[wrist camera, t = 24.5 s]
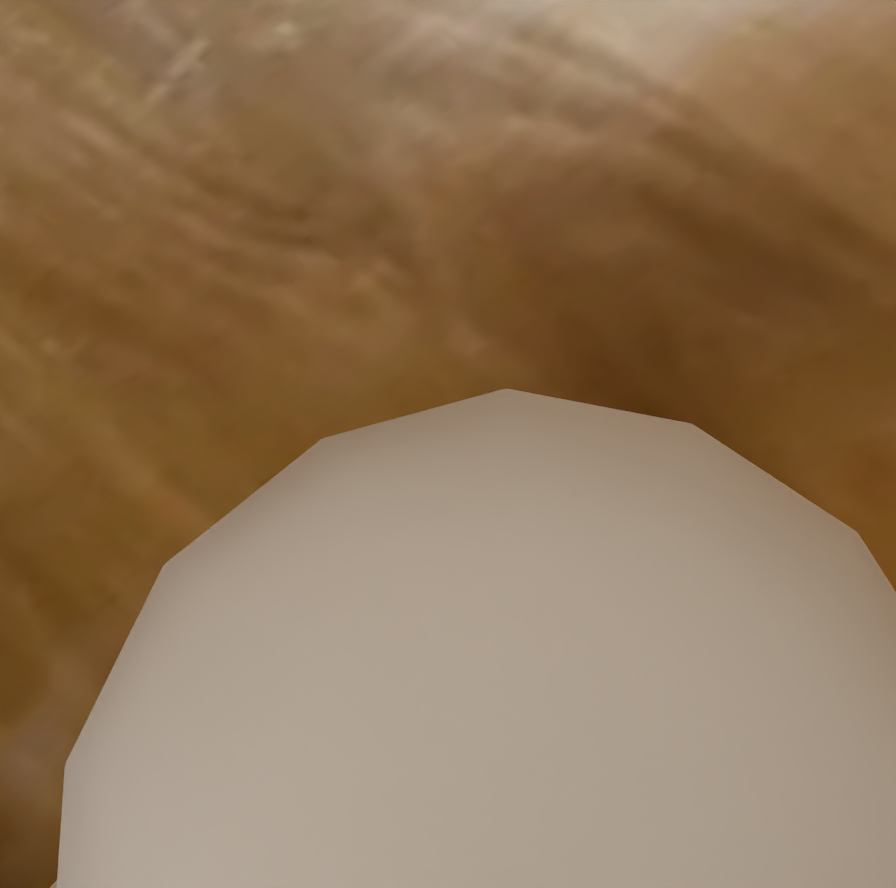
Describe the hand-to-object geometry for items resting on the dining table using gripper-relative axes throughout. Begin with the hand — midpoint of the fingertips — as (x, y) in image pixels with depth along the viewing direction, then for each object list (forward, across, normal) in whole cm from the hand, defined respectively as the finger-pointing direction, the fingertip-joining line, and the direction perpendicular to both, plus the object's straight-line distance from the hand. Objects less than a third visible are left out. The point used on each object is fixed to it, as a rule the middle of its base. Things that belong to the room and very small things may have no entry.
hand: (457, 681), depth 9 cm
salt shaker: (+5, 0, -6) cm, 8 cm away
